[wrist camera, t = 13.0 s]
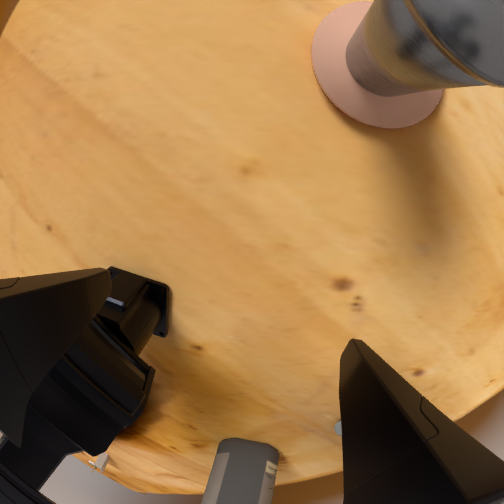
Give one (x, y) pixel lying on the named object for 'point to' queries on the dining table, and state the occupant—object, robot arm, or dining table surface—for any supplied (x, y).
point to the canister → (428, 46)
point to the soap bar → (345, 86)
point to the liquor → (242, 473)
